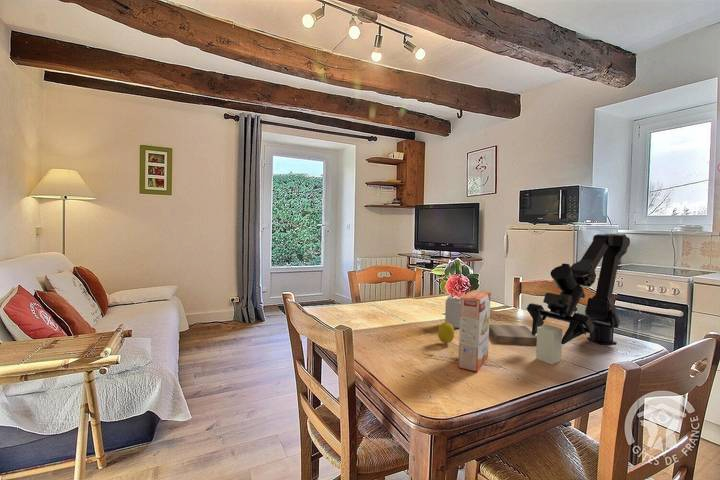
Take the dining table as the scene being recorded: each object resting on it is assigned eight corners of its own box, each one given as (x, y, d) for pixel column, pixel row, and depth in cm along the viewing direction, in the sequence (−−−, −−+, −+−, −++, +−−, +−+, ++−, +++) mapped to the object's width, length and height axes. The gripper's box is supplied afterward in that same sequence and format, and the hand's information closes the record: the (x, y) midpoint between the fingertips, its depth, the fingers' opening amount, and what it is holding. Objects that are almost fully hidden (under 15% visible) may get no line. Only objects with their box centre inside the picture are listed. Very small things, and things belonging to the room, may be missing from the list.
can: (464, 329, 138) (465, 299, 137) (445, 328, 139) (446, 298, 139) (463, 324, 145) (464, 295, 145) (444, 323, 147) (445, 294, 146)
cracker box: (478, 373, 98) (480, 299, 97) (457, 368, 101) (459, 296, 100) (489, 357, 110) (491, 291, 109) (470, 353, 113) (471, 289, 112)
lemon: (457, 344, 121) (457, 321, 121) (449, 348, 117) (449, 324, 117) (442, 340, 125) (443, 318, 125) (434, 344, 121) (435, 321, 121)
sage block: (545, 355, 112) (546, 324, 111) (561, 360, 108) (562, 328, 107) (536, 358, 109) (537, 327, 109) (551, 364, 105) (553, 331, 104)
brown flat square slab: (525, 333, 135) (525, 325, 135) (539, 346, 122) (539, 337, 121) (487, 331, 137) (487, 324, 137) (497, 344, 123) (497, 335, 123)
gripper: (530, 279, 117) (508, 316, 112) (591, 288, 101) (568, 332, 96) (543, 299, 122) (523, 336, 117) (603, 311, 106) (582, 354, 101)
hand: (546, 339), depth 107 cm, fingers open, 9 cm apart
